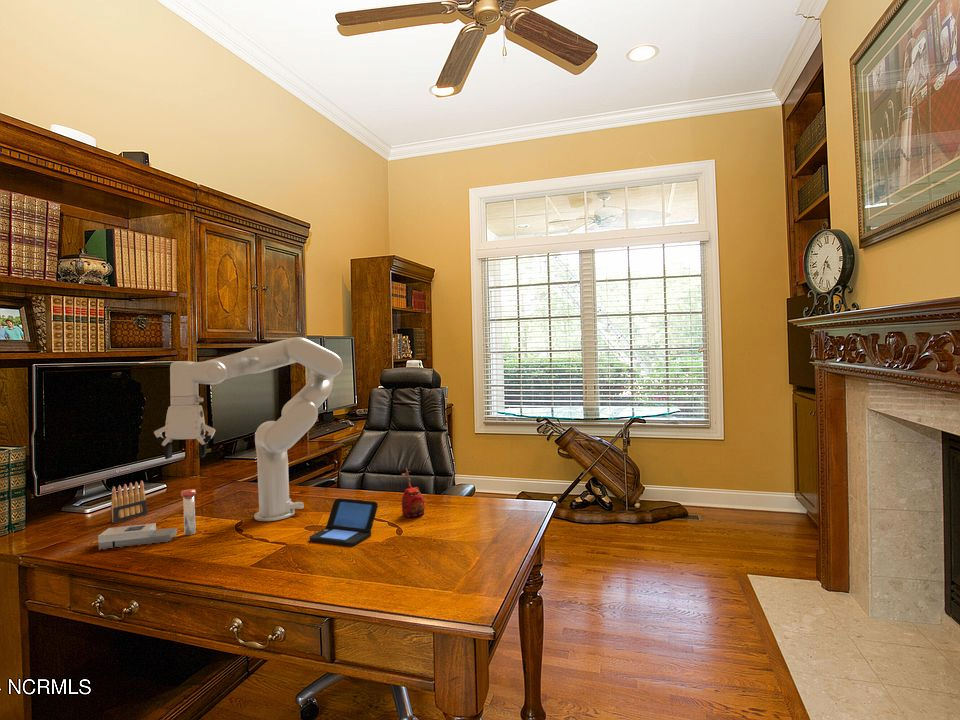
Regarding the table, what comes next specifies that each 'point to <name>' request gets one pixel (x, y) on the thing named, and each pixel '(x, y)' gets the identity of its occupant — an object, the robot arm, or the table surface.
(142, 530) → the chain link
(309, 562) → the table surface
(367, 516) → the game console
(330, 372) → the robot arm
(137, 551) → the table surface
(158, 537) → the chain link
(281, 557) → the table surface
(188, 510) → the pin
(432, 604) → the table surface
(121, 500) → the ammunition clip
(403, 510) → the red clay folk toy
